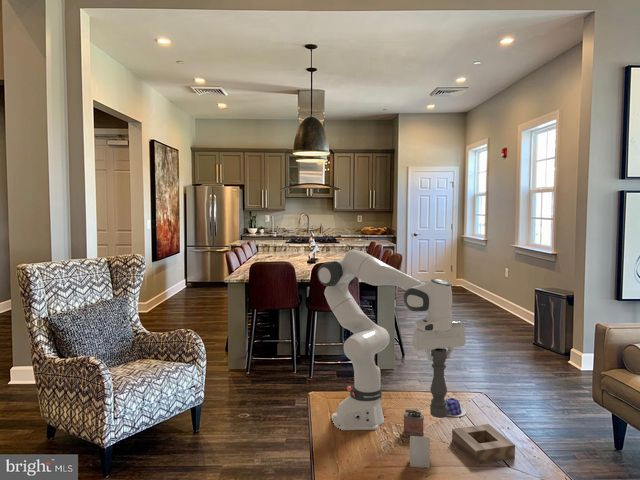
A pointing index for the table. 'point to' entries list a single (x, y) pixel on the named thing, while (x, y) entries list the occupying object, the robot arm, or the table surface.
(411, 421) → the lighter
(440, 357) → the candle holder
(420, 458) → the tea bag
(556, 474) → the table surface
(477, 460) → the walnut collar
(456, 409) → the pudding
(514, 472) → the table surface
